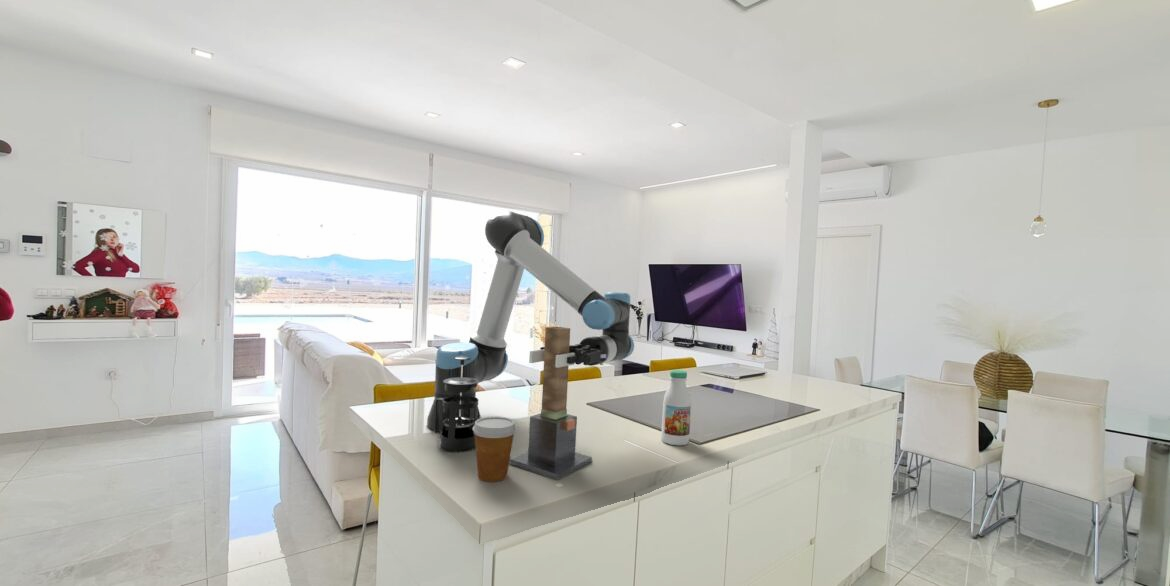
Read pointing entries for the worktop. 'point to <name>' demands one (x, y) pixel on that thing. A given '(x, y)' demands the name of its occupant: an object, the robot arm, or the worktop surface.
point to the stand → (552, 448)
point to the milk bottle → (676, 410)
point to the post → (555, 374)
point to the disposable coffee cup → (493, 447)
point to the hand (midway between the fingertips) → (543, 359)
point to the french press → (459, 427)
